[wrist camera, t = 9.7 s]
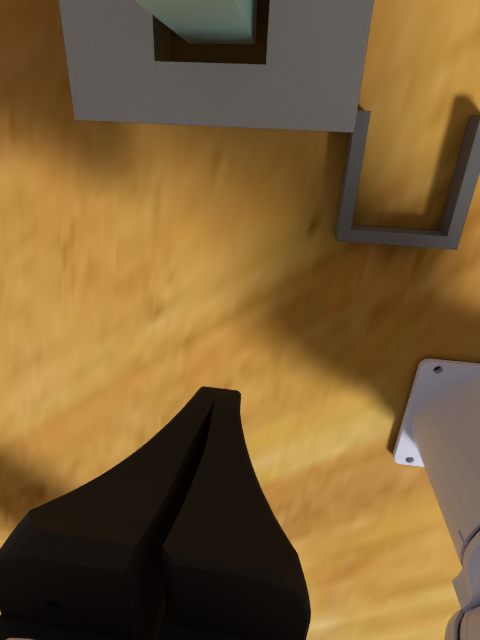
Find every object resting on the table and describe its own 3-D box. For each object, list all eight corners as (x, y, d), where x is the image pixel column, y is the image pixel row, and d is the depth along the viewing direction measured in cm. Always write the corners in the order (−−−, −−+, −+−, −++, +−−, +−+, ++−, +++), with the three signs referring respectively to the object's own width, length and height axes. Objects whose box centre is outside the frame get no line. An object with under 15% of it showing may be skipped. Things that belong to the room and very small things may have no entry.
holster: (484, 116, 17) (496, 116, 16) (448, 243, 20) (457, 249, 19) (352, 111, 18) (356, 110, 17) (334, 234, 20) (336, 241, 19)
